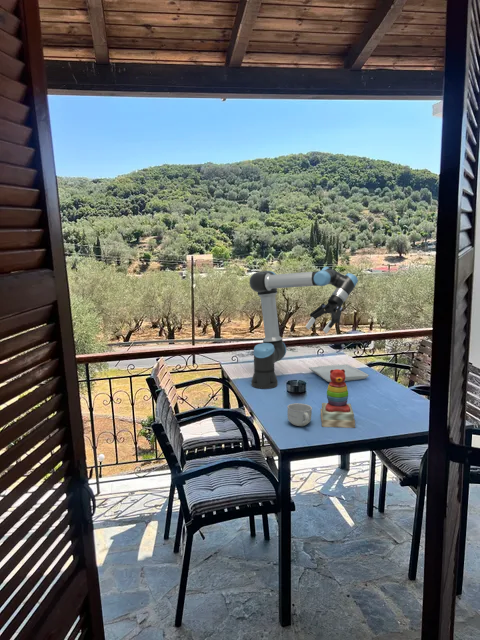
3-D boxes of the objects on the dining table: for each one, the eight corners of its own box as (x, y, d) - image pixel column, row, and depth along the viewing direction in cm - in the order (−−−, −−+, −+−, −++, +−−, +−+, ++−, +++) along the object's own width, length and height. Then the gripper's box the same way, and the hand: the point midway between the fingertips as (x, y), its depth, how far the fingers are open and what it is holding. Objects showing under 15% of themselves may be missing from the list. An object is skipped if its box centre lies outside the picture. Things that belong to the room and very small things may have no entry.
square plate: (369, 381, 250) (370, 374, 249) (326, 385, 244) (326, 379, 243) (347, 368, 276) (347, 363, 275) (308, 372, 270) (308, 366, 269)
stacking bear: (325, 412, 187) (326, 372, 184) (324, 403, 197) (324, 366, 194) (351, 412, 186) (351, 373, 183) (348, 404, 196) (349, 366, 193)
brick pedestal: (322, 426, 186) (322, 413, 185) (320, 414, 200) (320, 402, 199) (354, 427, 184) (355, 414, 183) (351, 415, 198) (351, 403, 197)
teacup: (285, 419, 195) (285, 402, 194) (308, 418, 196) (308, 401, 195) (291, 432, 182) (291, 414, 180) (316, 430, 183) (316, 413, 181)
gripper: (358, 305, 217) (336, 338, 212) (325, 301, 238) (303, 330, 233) (351, 296, 213) (328, 329, 208) (317, 292, 234) (296, 322, 229)
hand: (315, 329), depth 220 cm, fingers open, 13 cm apart
